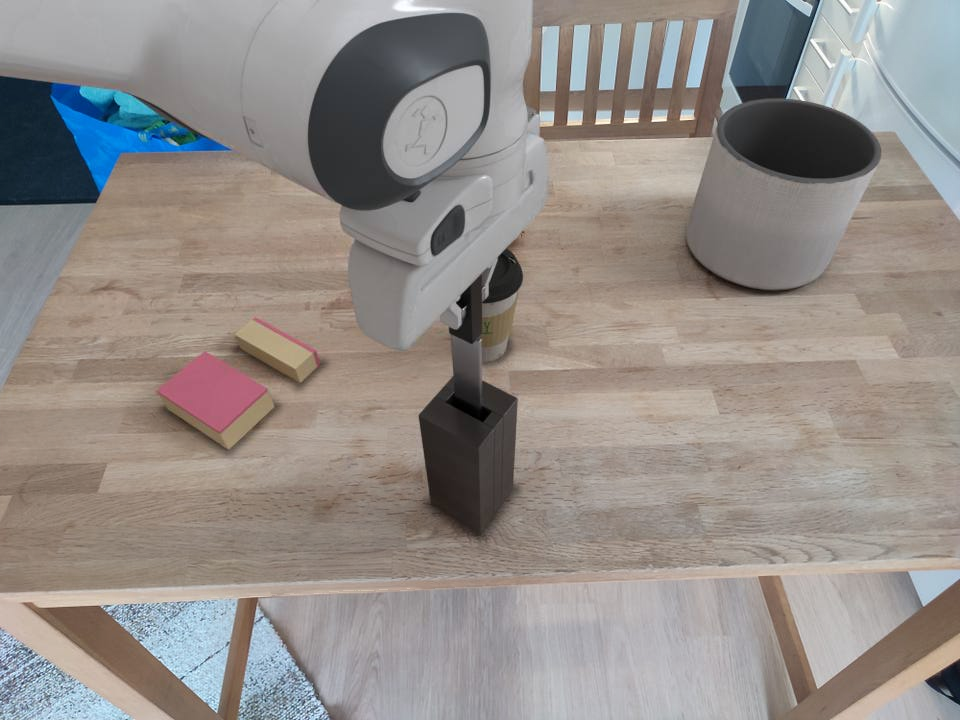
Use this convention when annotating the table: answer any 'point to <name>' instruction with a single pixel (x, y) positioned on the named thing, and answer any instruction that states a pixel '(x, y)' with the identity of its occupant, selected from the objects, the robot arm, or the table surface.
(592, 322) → the table surface
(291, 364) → the cake slice
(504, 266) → the coffee cup
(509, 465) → the knife block
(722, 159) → the planter
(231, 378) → the cake
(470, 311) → the knife
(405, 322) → the robot arm
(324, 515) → the table surface
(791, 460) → the table surface
